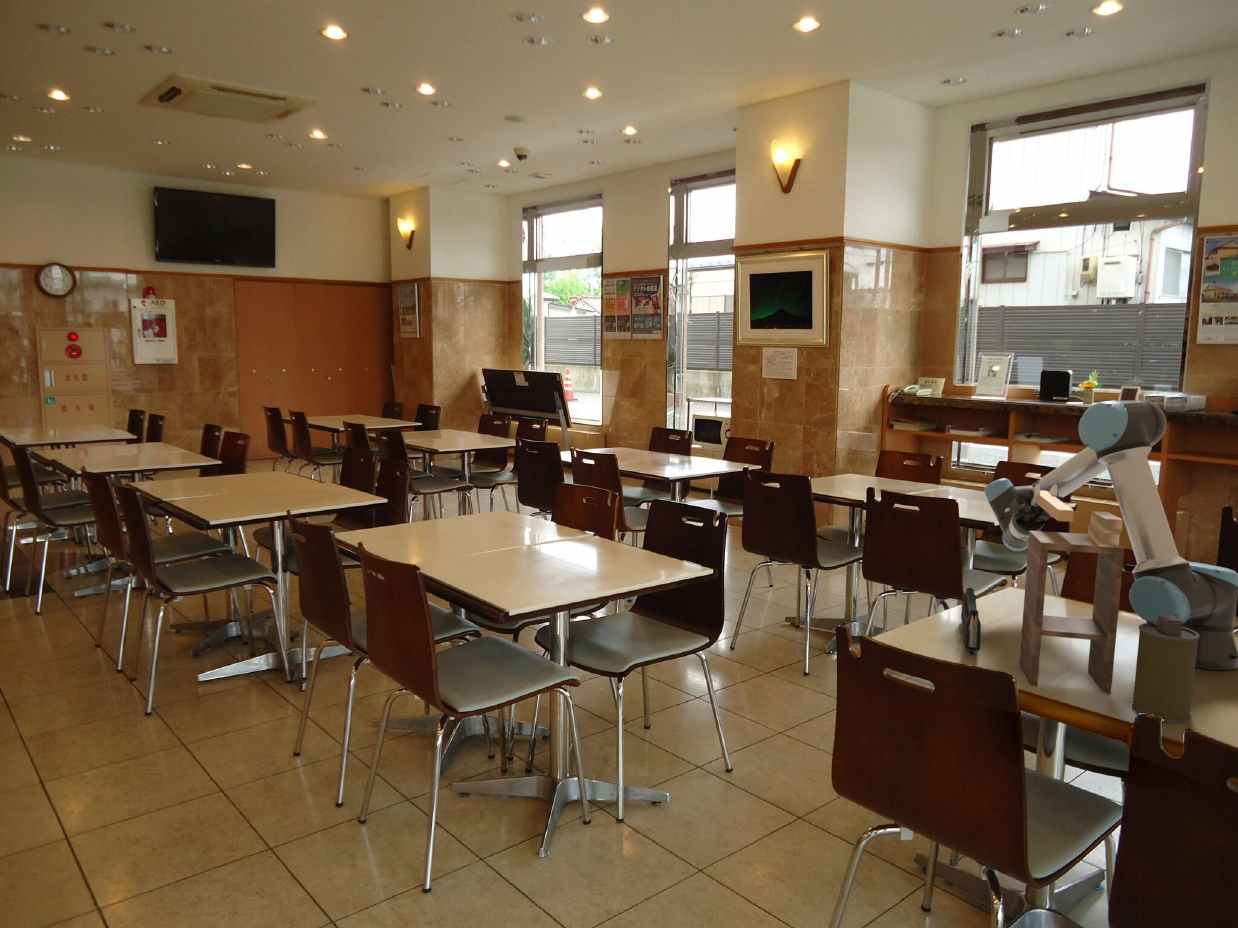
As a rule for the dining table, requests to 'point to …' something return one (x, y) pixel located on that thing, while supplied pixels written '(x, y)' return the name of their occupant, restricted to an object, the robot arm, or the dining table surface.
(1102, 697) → the dining table surface
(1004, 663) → the dining table surface
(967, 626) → the magazine
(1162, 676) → the canister
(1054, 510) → the batten
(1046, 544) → the rack
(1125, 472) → the robot arm
